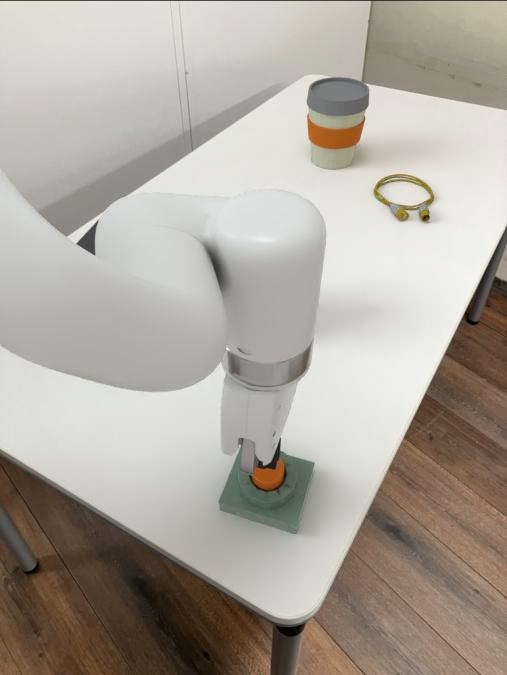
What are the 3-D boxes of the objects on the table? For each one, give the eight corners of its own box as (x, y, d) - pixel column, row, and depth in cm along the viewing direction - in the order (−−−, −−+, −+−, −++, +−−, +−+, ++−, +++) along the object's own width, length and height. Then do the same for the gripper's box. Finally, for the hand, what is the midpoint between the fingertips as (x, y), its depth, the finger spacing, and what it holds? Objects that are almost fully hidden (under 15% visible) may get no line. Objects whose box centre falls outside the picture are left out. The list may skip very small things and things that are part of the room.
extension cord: (362, 214, 98) (364, 205, 96) (381, 174, 108) (383, 166, 106) (427, 227, 94) (429, 218, 93) (440, 185, 104) (443, 176, 103)
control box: (219, 510, 58) (217, 494, 55) (242, 451, 63) (241, 433, 60) (295, 534, 56) (297, 519, 53) (313, 471, 61) (315, 454, 58)
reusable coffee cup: (292, 161, 112) (294, 90, 101) (325, 140, 119) (330, 72, 108) (339, 179, 107) (347, 107, 96) (371, 156, 113) (382, 86, 102)
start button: (247, 485, 56) (246, 477, 55) (257, 457, 59) (257, 449, 57) (278, 494, 55) (278, 487, 54) (287, 466, 58) (288, 458, 56)
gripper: (251, 276, 47) (252, 397, 60) (185, 403, 37) (203, 513, 50) (332, 294, 45) (314, 413, 58) (285, 431, 35) (276, 537, 49)
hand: (263, 459), depth 54 cm, fingers closed
